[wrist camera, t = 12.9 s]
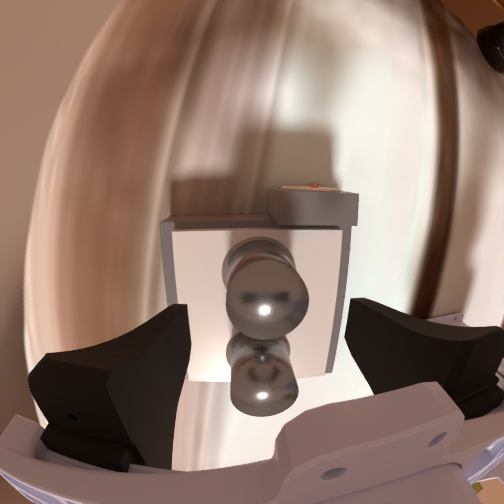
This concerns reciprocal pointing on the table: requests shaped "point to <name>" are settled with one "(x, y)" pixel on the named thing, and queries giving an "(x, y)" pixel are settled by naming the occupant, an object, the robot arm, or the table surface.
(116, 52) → the table surface
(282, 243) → the scale
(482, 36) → the supplement bottle
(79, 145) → the table surface
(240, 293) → the cylinder
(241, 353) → the cylinder
